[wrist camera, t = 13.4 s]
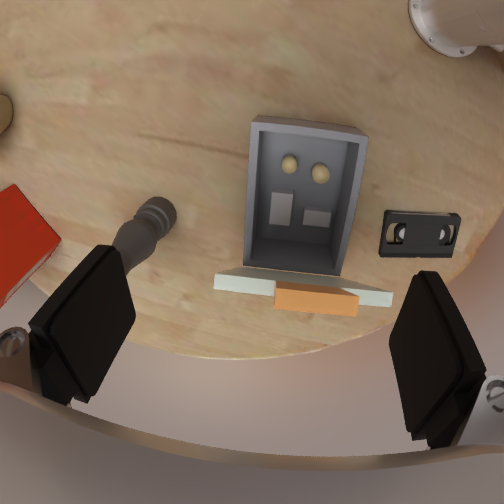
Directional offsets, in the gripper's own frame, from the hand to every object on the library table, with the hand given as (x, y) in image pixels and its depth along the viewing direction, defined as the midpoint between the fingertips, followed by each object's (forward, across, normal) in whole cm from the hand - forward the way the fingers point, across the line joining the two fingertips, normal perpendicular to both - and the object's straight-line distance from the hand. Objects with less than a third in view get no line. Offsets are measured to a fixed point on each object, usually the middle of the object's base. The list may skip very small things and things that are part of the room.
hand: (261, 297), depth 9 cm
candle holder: (+37, +20, +15) cm, 45 cm away
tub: (+37, -2, +9) cm, 39 cm away
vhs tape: (+38, -24, +15) cm, 48 cm away
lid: (+18, -2, +12) cm, 22 cm away
